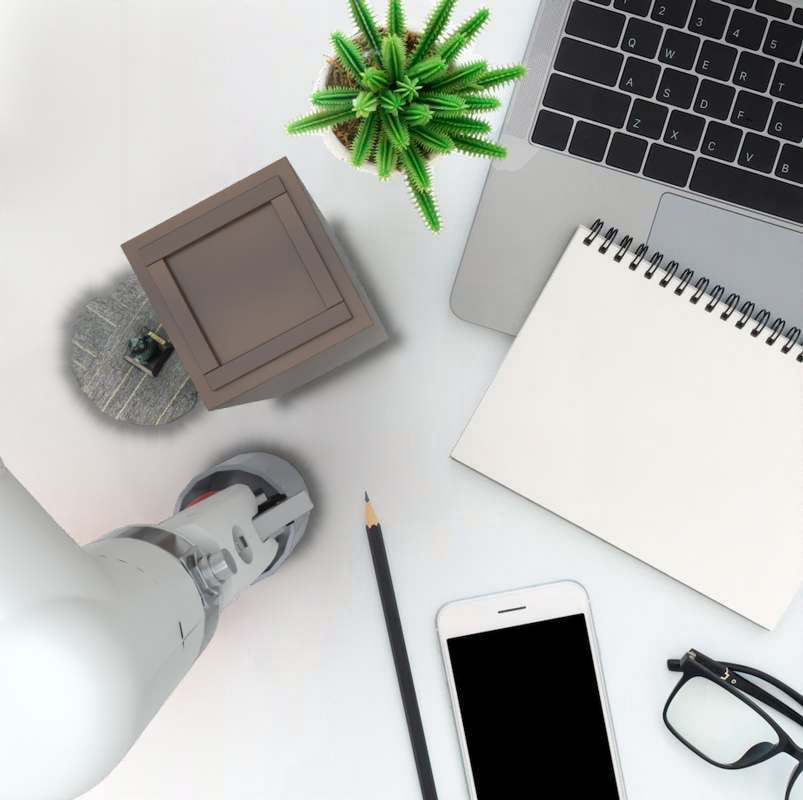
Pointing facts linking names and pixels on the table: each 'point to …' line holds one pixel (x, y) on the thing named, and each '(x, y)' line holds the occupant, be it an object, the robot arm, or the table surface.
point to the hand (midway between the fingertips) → (222, 533)
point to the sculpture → (129, 359)
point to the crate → (255, 290)
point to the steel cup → (255, 474)
